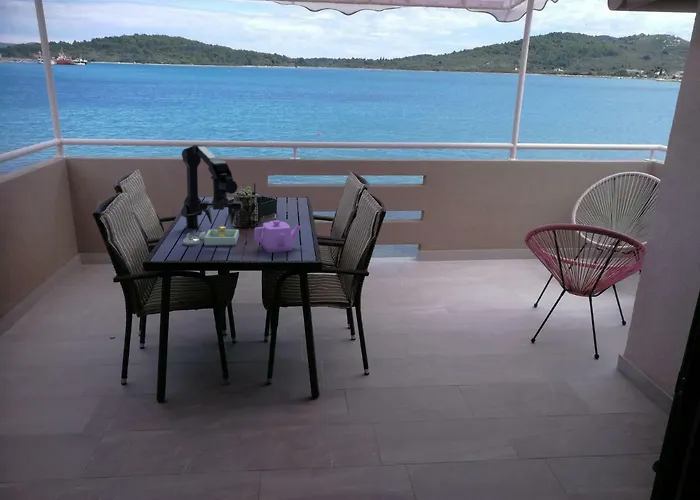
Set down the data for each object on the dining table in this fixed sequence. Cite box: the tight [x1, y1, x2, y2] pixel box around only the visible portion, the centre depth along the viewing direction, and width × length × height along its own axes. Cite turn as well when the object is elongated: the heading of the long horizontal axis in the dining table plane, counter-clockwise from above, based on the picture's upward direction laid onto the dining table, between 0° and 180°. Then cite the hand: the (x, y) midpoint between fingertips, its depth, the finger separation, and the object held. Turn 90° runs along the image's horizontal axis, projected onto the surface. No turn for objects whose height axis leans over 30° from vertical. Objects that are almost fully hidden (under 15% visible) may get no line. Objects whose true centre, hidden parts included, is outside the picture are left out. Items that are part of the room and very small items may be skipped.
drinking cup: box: [253, 183, 263, 222], centre depth 264 cm, size 8×8×20 cm
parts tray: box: [203, 229, 240, 246], centre depth 229 cm, size 14×14×4 cm
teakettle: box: [253, 219, 301, 253], centre depth 221 cm, size 17×17×12 cm
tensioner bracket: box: [182, 231, 207, 247], centre depth 229 cm, size 17×8×3 cm, turn 5°
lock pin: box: [216, 225, 227, 237], centre depth 229 cm, size 4×4×6 cm
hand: (221, 223), depth 227 cm, fingers open, 9 cm apart
